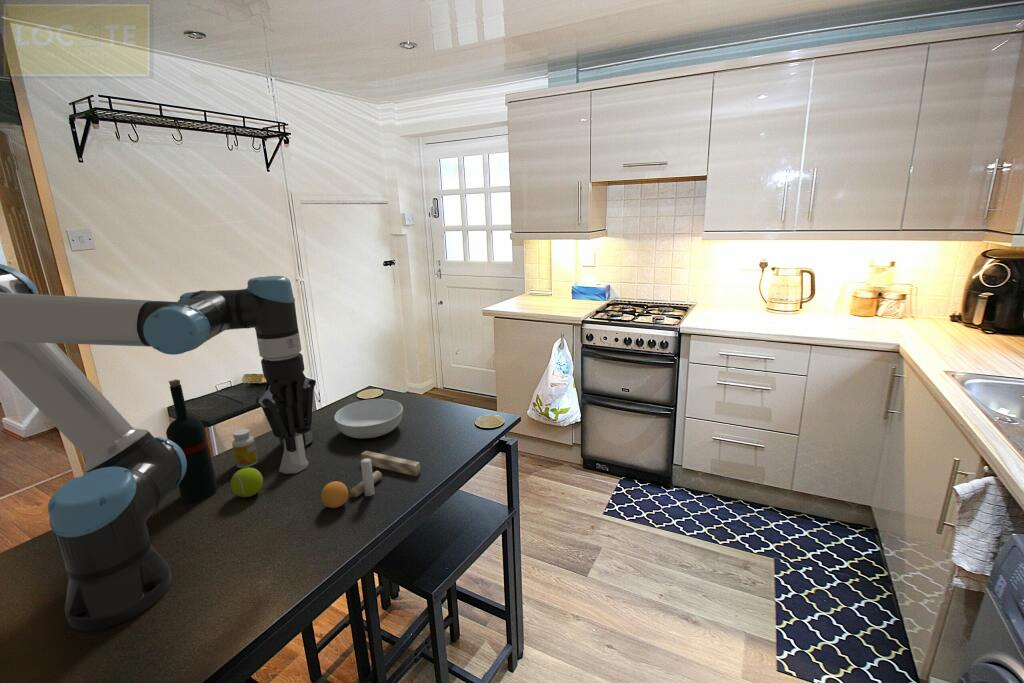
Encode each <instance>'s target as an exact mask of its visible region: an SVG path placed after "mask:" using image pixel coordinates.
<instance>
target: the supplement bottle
mask: <svg viewBox="0 0 1024 683" xmlns="http://www.w3.org/2000/svg"><path fill="white" fill-rule="evenodd" d="M232 435H233V441H232V442H231V444H232V450H233V455H234V456H233V457H234V460H235V464H236V467H237V468H240V469H243V468H251V467H252V466H254V465H256V464H257V463H258V461H259V458H258V454H257V447H256V440H255V438H254V437H253V436H252V435H251V430H250V429H249V428H240V429H238V430H236V431H234V432H233V433H232Z"/></svg>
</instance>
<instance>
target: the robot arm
mask: <svg viewBox="0 0 1024 683" xmlns="http://www.w3.org/2000/svg"><path fill="white" fill-rule="evenodd" d="M295 301H296V298H295V297H294V293H293V288H292V283H291V280H290V278H288V277H286V276H283V275H269V276H268V275H267V276H259V277H258V276H257V277H253V278H249V279H248V280H247V287H246V288H241V289H223V290H221V289H220V290H199V291H191V292H185V293H182V294H181V295H180V297H179V299H178V300H177V301H169V300H168V301H167V300H166V301H165V300H163V301H162V300H151V299H150V300H148V299H146V300H145V299H133V298H132V299H129V298H109V297H93V296H92V297H90V296H74V295H72V296H71V295H55V294H39V290H38V289H37V286H36V285H35V284H34V282H33V281H32V280H31V279H30V278H29V277H28V276H26V275H25V274H24V273H23V272H21V271H20V270H18V269H15V268H13V267H11V266H9V265H5V264H2V263H0V371H1V373H3V375H4V376H6V378H7V379H8V380H9V381H10V382H11V383H12V384H13V385H14V386H15V387H16V388H17V389H18V390H19V391H20V392H21V393H22V394H23V395H24V396H25V397H26V398H27V399H28V400H29V401H30V402H31V403H32V404H33V405H34V407H35V408H37V409H38V410H39V412H41V413H42V414H43V416H45V417H46V419H48V420H49V422H50V423H52V425H54V427H55V428H56V429H57V430H58V431H59V432H60V433H62V435H63V436H64V437H65V438H66V439H67V440H68V441H69V442H70V443H71V444H72V445H73V446H74V447H75V448H76V449H77V450H78V451H79V453H81V454H82V456H84V457H85V464H84V468H83V471H84V473H83V474H82V475H81V476H79V477H73V478H72V479H71V480H69V481H67V482H66V483H64V484H63V485H62V486H60V487H58V489H57V490H56V491H55V492H54V493H53V494H52V496H51V498H50V499H49V500H48V501H49V502H48V504H47V513H48V517H49V520H48V521H49V522H48V523H49V527H50V528H51V530H52V532H53V535H54V538H55V541H56V543H57V546H58V549H59V553H60V555H61V558H62V560H63V563H64V567H65V570H66V573H67V577H68V581H67V582H68V583H67V590H66V596H65V604H64V614H65V618H66V620H67V623H69V624H68V626H70V627H71V628H72V629H74V630H75V631H76V630H77V631H81V630H82V632H87V631H88V632H89V631H90V632H92V631H98V630H103V629H107V628H108V629H109V628H111V627H113V626H116V624H117V625H119V624H122V623H123V622H126V621H129V620H130V619H133V618H135V617H136V616H138V615H140V614H141V613H144V612H145V611H146V610H148V609H149V608H151V607H152V606H153V605H154V604H156V603H158V602H159V600H160V599H161V598H162V597H163V596H164V595H165V594H166V593H167V592H168V590H169V588H170V587H171V585H172V582H173V575H172V571H171V567H170V565H169V563H168V561H166V560H165V559H164V557H163V556H162V555H161V554H160V553H159V552H158V551H157V549H156V548H155V547H154V546H153V545H152V542H151V539H150V535H149V530H148V527H147V520H148V519H149V518H150V517H151V516H152V514H153V513H154V512H155V511H156V510H157V509H158V508H159V507H160V506H161V505H162V504H163V503H164V501H165V500H166V499H167V498H168V497H169V496H170V495H172V494H173V493H174V492H175V491H176V490H177V488H179V487H178V485H179V483H180V482H181V480H182V479H183V477H184V475H185V473H186V468H187V461H186V457H185V454H184V452H183V451H182V449H181V448H180V447H179V446H178V445H177V444H176V443H174V442H173V441H171V440H169V439H167V438H166V439H165V438H163V437H160V436H159V437H157V436H156V437H155V436H154V435H152V433H151V432H150V431H149V429H140V428H134V426H132V425H131V424H130V422H128V421H127V420H126V419H125V417H124V416H123V415H122V414H121V413H120V412H119V411H118V410H117V409H116V408H115V407H114V406H113V404H112V403H111V402H110V401H109V400H108V399H107V398H106V397H105V396H104V394H103V393H102V392H101V391H100V390H99V389H98V388H97V387H96V386H95V385H94V384H93V382H92V381H91V380H90V379H89V378H88V377H87V375H85V374H84V373H83V371H81V369H80V368H79V367H78V366H77V365H76V364H75V363H74V362H73V360H71V358H69V356H68V355H67V354H66V353H65V352H64V351H63V350H62V348H60V346H59V345H58V344H65V345H66V344H68V345H89V346H90V345H95V346H118V347H119V346H121V347H122V346H124V347H126V346H128V347H149V348H150V347H151V348H152V349H154V350H156V351H157V352H160V353H162V354H166V355H173V356H174V355H175V356H176V355H181V354H184V353H186V352H187V353H188V352H191V351H193V350H196V349H197V348H199V347H200V346H202V345H203V344H204V343H206V342H208V341H209V340H210V339H212V338H214V337H216V336H217V335H219V334H221V333H224V331H229V330H241V329H251V328H254V329H255V335H256V341H257V347H258V353H259V356H260V358H262V359H261V361H260V363H261V368H262V369H261V370H262V375H263V377H264V379H265V381H266V384H265V389H264V390H265V392H264V394H263V395H262V396H261V397H260V396H258V397H256V399H255V403H256V404H258V406H259V407H261V409H262V411H263V413H264V415H265V417H266V420H267V422H268V425H269V427H270V428H271V431H272V433H273V435H274V437H275V438H283V439H285V443H286V449H287V451H289V452H290V457H291V463H293V464H297V465H303V464H304V463H306V459H307V458H306V451H305V447H306V446H305V445H306V440H305V433H307V432H308V429H305V428H306V427H307V426H310V425H311V426H312V423H313V422H312V420H313V401H314V399H313V398H314V391H315V390H314V389H315V386H316V383H317V380H316V379H311V378H308V377H306V374H304V371H305V363H304V356H303V354H302V353H301V351H302V344H301V343H302V342H301V338H300V331H299V326H298V318H297V311H296V310H297V309H296V302H295ZM272 397H273V398H274V399H275V404H276V405H277V407H278V410H277V408H276V406H275V405H274V400H273V399H272ZM305 418H306V420H305ZM304 446H305V447H304Z"/></svg>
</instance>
